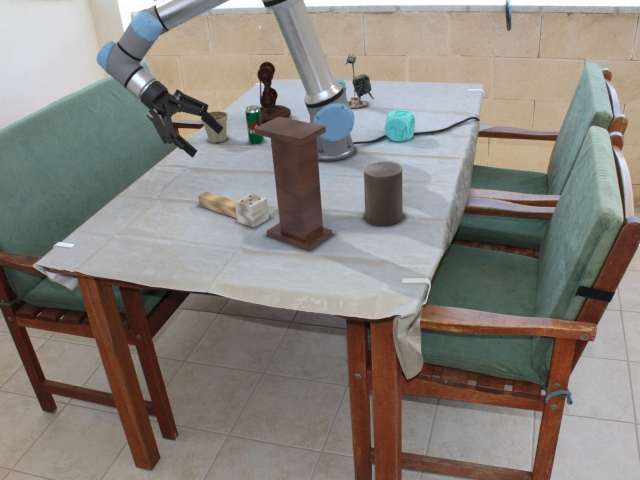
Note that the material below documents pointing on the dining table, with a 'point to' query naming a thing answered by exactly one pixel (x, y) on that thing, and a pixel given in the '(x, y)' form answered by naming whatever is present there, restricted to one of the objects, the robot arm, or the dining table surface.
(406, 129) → the decorative dice
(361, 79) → the plant with pod
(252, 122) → the soda can
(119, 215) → the dining table surface
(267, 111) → the dark brown sculpture
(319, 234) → the plant stand
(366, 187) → the pillar candle
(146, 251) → the dining table surface
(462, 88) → the dining table surface
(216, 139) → the flower pot
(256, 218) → the die stick
